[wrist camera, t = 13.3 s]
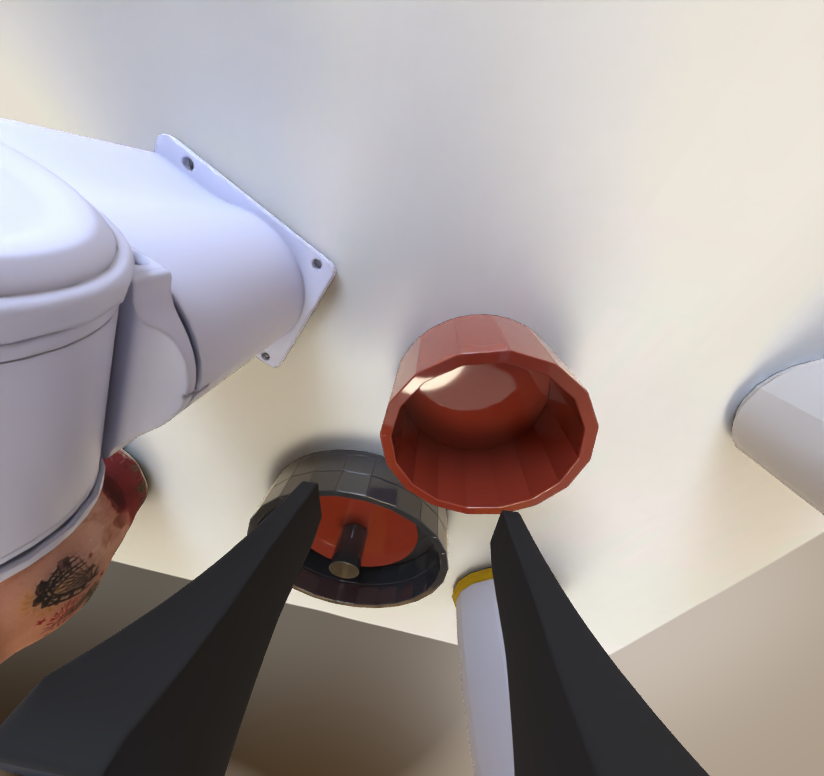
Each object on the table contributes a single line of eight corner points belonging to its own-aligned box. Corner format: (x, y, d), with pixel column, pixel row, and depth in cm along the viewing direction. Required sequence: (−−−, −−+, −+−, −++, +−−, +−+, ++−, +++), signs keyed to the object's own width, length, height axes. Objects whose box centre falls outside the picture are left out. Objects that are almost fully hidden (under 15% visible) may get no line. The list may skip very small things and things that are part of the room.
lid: (273, 511, 27) (246, 559, 23) (352, 456, 22) (334, 504, 19) (361, 567, 30) (350, 617, 27) (444, 529, 26) (445, 582, 22)
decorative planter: (192, 548, 33) (48, 740, 21) (83, 526, 32) (-128, 708, 20) (142, 404, 22) (-203, 619, 10) (-18, 370, 22) (-566, 552, 10)
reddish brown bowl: (366, 397, 20) (343, 451, 16) (471, 274, 16) (484, 299, 11) (474, 471, 23) (483, 536, 18) (592, 385, 18) (644, 442, 14)
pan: (246, 515, 28) (219, 556, 25) (326, 414, 21) (304, 452, 18) (380, 581, 33) (373, 624, 29) (485, 515, 25) (492, 562, 22)
